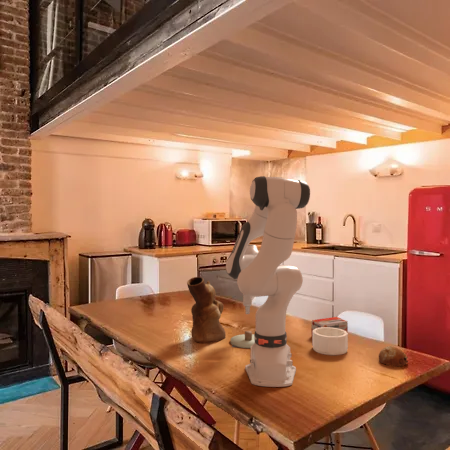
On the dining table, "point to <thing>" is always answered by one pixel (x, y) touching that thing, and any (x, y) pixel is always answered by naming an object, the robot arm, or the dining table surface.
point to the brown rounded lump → (392, 356)
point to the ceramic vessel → (205, 312)
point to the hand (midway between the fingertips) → (247, 310)
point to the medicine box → (330, 323)
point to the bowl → (330, 341)
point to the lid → (243, 340)
